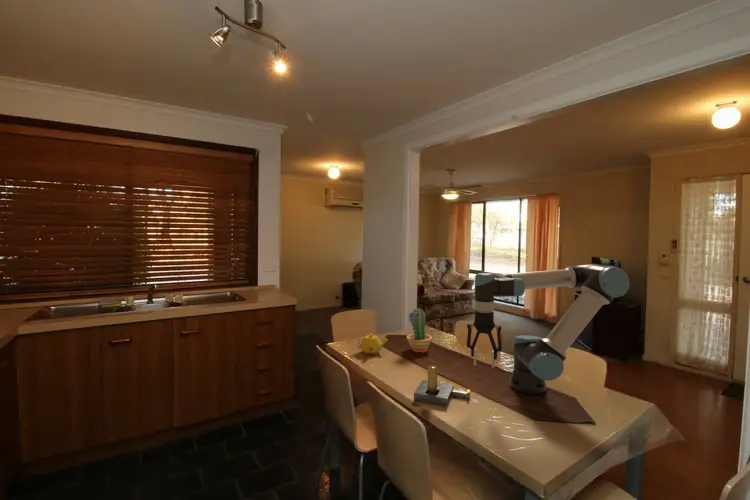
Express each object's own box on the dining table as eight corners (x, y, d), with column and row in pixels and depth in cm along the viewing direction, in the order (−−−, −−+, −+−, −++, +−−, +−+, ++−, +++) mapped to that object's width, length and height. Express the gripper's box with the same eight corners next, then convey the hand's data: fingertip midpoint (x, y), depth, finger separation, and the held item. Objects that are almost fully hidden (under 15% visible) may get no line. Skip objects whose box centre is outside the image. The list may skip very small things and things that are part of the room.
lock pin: (470, 396, 148) (470, 389, 148) (469, 399, 146) (469, 392, 146) (439, 391, 154) (439, 384, 153) (437, 394, 151) (437, 387, 151)
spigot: (438, 398, 147) (438, 366, 146) (436, 402, 143) (436, 369, 143) (429, 396, 149) (428, 364, 148) (426, 401, 145) (426, 368, 144)
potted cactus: (404, 346, 215) (403, 306, 214) (428, 345, 217) (428, 305, 215) (409, 355, 200) (409, 312, 198) (435, 353, 201) (435, 311, 200)
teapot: (371, 359, 194) (370, 339, 194) (355, 353, 204) (354, 334, 203) (388, 352, 204) (388, 334, 204) (372, 347, 214) (372, 329, 213)
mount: (453, 392, 153) (453, 384, 152) (447, 407, 140) (447, 398, 140) (422, 387, 158) (422, 379, 158) (413, 401, 145) (413, 392, 145)
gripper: (509, 310, 143) (509, 365, 144) (461, 307, 150) (461, 359, 151) (509, 314, 136) (508, 372, 137) (458, 310, 143) (458, 365, 144)
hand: (483, 365), depth 144 cm, fingers open, 6 cm apart
